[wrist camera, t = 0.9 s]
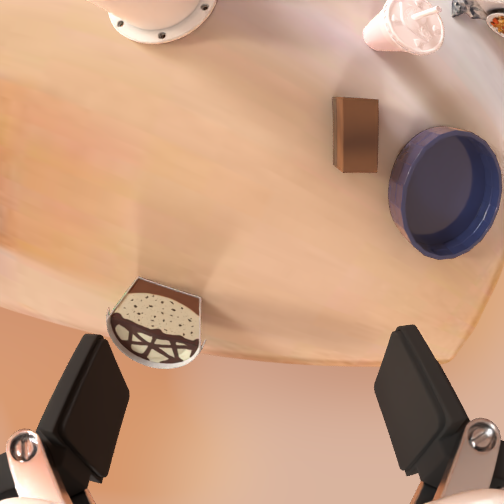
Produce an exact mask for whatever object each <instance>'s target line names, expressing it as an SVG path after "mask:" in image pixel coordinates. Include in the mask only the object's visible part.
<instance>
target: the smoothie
mask: <svg viewBox="0 0 504 504" xmlns="http://www.w3.org/2000/svg"><path fill="white" fill-rule="evenodd" d="M441 11H442V10H441V8H440V7H439V6H436V7H433V6H432V5H431V4H430V3H429V2H428V1H426V0H388V1H387V2H386V3H385V5H384V7H383V10H382V11H381V12H380V13H379V14H378V15H377V16H376V17H375V18H374V19H373V20H372V21H370V22H369V23H368V25H367V26H366V27H365V28H364V30H363V38H364V40H365V42H366V44H367V45H368V46H369V47H370V48H372V49H374V50H376V51H403V52H409V53H411V54H414V55H427V54H430V53H433V52H435V51H437V50H438V49H439V48H440V47H441V45H442V43H443V40H444V26H443V22H442V20H441V17H440V16H439V14H438V13H440V12H441Z"/></svg>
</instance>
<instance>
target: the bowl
mask: <svg viewBox="0 0 504 504" xmlns="http://www.w3.org/2000/svg"><path fill="white" fill-rule="evenodd" d="M501 194H502V178H501V170H500V167H499V164H498V161H497V158H496V155H495V154H494V152H493V151H492V149H491V148H490V147H489V145H488V144H487V142H486V141H485V140H483V139H482V138H480V137H479V136H477V135H476V134H474V133H472V132H469V131H465V130H462V129H458V128H452V127H446V126H439V127H433V128H429V129H426V130H424V131H422V132H420V133H419V134H417V135H416V136H414V137H413V138H412V139H411V140H410V141H409V142H408V143H407V144H406V145H405V147H404V148H403V149H402V151H401V152H400V154H399V155H398V157H397V159H396V161H395V164H394V166H393V169H392V172H391V176H390V181H389V188H388V199H389V207H390V212H391V215H392V218H393V221H394V222H395V224H396V226H397V228H398V229H399V231H400V232H401V234H402V235H403V236H404V237H405V238H406V239H407V240H408V241H409V242H410V243H411V244H412V245H413V246H414V247H415V248H416V249H417V250H419V251H420V252H421V253H422V254H423V255H425V256H428V257H431V258H434V259H438V260H442V259H452V258H456V257H458V256H460V255H462V254H464V253H466V252H468V251H470V250H471V249H472V248H473V247H474V246H476V245H477V244H478V243H479V242H480V241H481V240H482V239H483V238H484V236H485V235H486V233H487V232H488V231H489V229H490V228H491V226H492V224H493V222H494V219H495V217H496V215H497V212H498V210H499V205H500V200H501Z"/></svg>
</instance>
